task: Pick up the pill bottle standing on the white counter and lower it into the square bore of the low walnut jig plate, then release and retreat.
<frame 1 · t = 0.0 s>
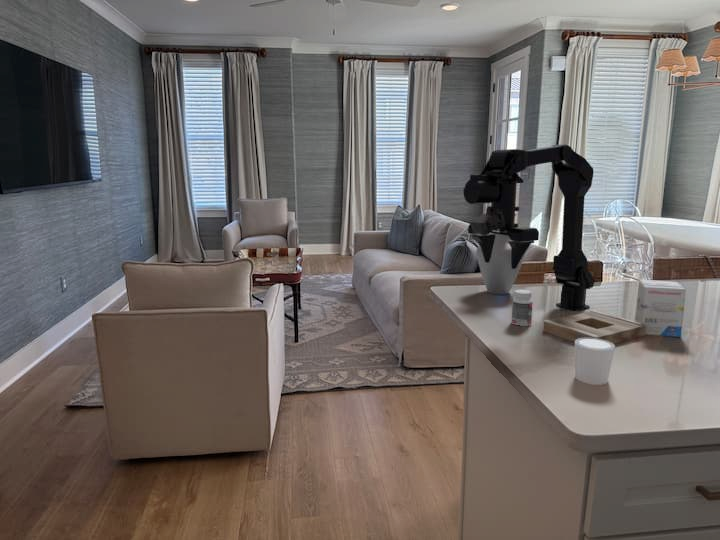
hand: (500, 265, 127), 15 cm above the countertop, fingers open, 9 cm apart
pill bottle: (521, 324, 129), on the countertop
white short tapered cylinder: (591, 379, 96), on the countertop
walnut jig: (593, 333, 121), on the countertop
vase: (498, 292, 161), on the countertop
ink box: (656, 331, 123), on the countertop
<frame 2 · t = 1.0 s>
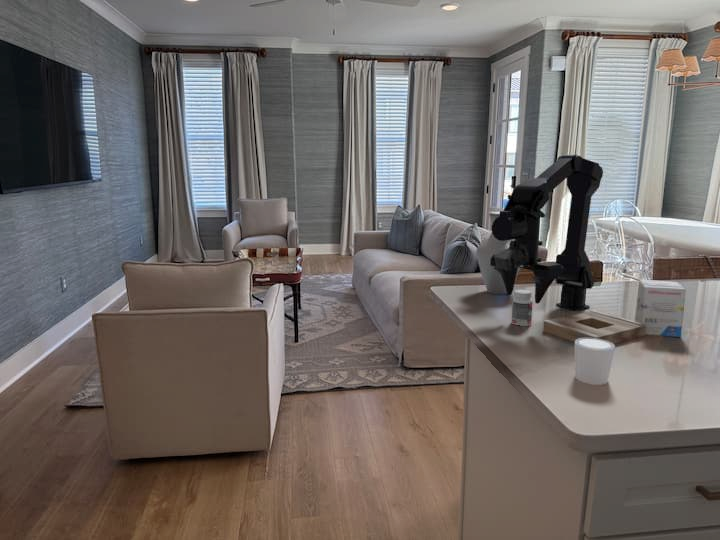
hand: (523, 298, 128), 6 cm above the countertop, fingers open, 9 cm apart
nothing on the countertop moved.
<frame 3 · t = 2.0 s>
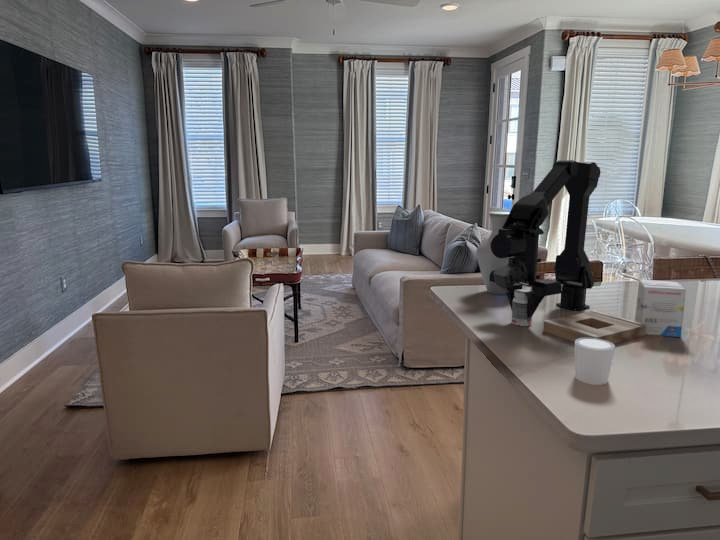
hand: (521, 315, 129), 2 cm above the countertop, fingers closed on pill bottle, 5 cm apart
pill bottle: (521, 324, 129), on the countertop, touching gripper
everything else where it was.
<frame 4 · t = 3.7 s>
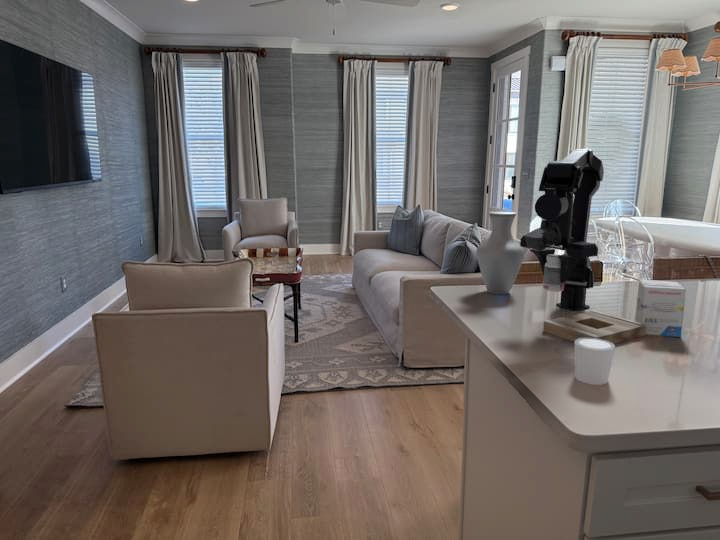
hand: (554, 280, 123), 12 cm above the countertop, fingers closed on pill bottle, 5 cm apart
pill bottle: (553, 290, 124), point 9 cm above the countertop, touching gripper
everything else where it was.
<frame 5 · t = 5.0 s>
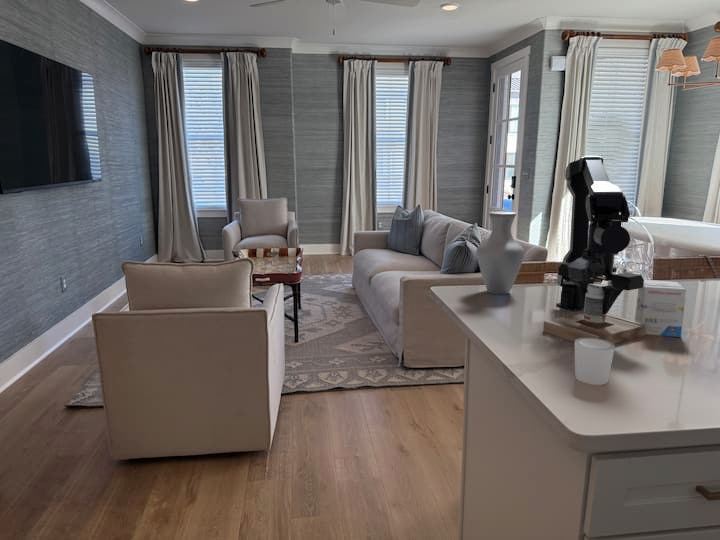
hand: (595, 311, 120), 5 cm above the countertop, fingers closed on pill bottle, 5 cm apart
pill bottle: (594, 321, 121), point 3 cm above the countertop, touching gripper
everything else where it was.
when the fingers open (4 cm above the countertop, at t = 5.7 s): pill bottle drops 1 cm, resting in walnut jig.
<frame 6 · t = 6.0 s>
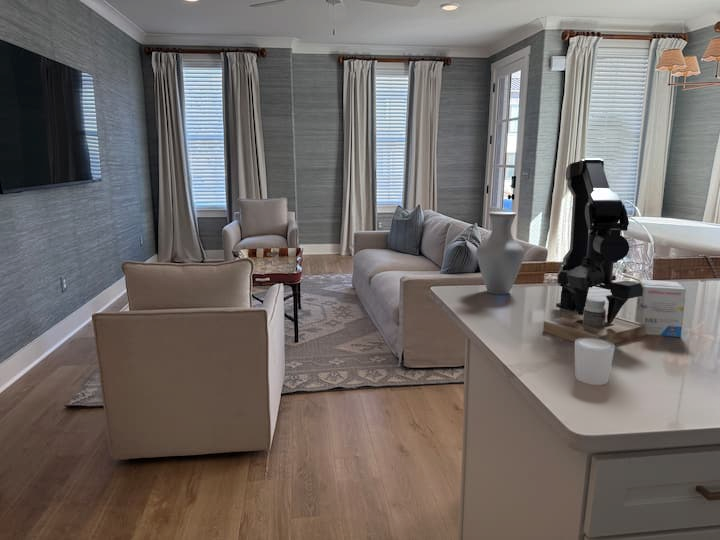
hand: (594, 318, 121), 4 cm above the countertop, fingers open, 7 cm apart
pill bottle: (592, 334, 121), resting in walnut jig
everything else where it was.
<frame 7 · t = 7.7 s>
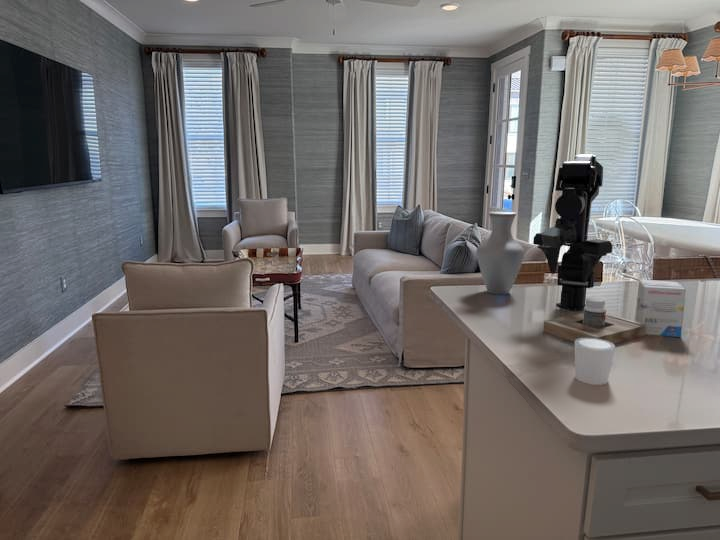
hand: (568, 277, 127), 12 cm above the countertop, fingers open, 9 cm apart
nothing on the countertop moved.
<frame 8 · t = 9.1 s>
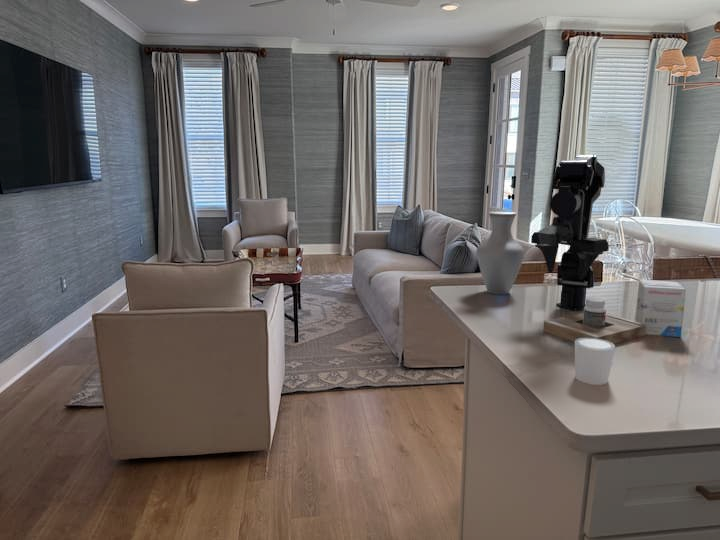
hand: (565, 275, 128), 12 cm above the countertop, fingers open, 9 cm apart
nothing on the countertop moved.
at the end: pill bottle 0.1 cm off-centre on the walnut jig, point 0.0 cm above the walnut jig's base; pill bottle tilted 0°; the gripper is holding nothing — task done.
